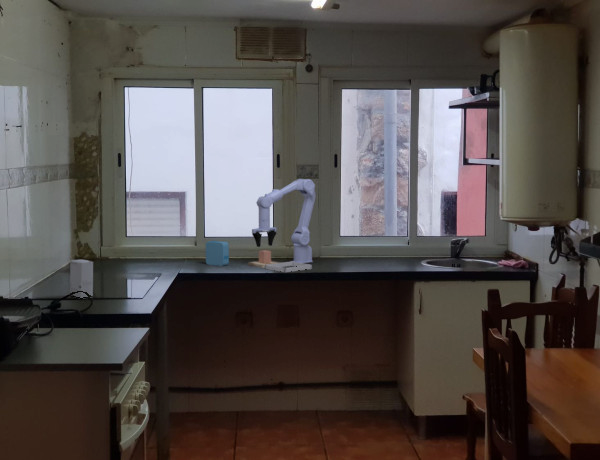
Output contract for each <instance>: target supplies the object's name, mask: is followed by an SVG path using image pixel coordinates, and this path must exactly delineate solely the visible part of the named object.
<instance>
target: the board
mask: <svg viewBox="0 0 600 460" xmlns="http://www.w3.org/2000/svg"><path fill="white" fill-rule="evenodd" d="M276 263H281V262H280V261H274V260H271V263H259V260H257V261H248V263H247V265H248V266H250V267H256V268H261V269H265V265H268V264H276Z"/></svg>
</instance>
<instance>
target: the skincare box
mask: <svg viewBox="0 0 600 460" xmlns="http://www.w3.org/2000/svg"><path fill="white" fill-rule="evenodd" d="M69 267H70V269H69V277H70V278H69V294H70V293H72V292H77V291H83V292H87V293H88V294H89V295H91V296H93V297H94V261H91V260H87V259H72V260H70V262H69ZM83 292H78V293H75V294H73V295H74V296H76V297H80V298H83V297H88V296H87V295H86V294H85V293H83ZM76 297H75V298H76ZM80 298H79V299H80ZM83 299H84V298H83Z"/></svg>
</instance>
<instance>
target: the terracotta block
mask: <svg viewBox="0 0 600 460" xmlns="http://www.w3.org/2000/svg"><path fill="white" fill-rule="evenodd" d="M258 261H259V263H271V261H272V251H271V250H266V249H264V250H258Z"/></svg>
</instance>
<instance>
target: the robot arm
mask: <svg viewBox="0 0 600 460" xmlns="http://www.w3.org/2000/svg"><path fill="white" fill-rule="evenodd" d="M315 189H316V184H315V183H314V182H313V180H312V179H309V178H307V179H304V178H298V179H296V180H294V181H292V182H291V183H290V184H287V185H286V186H284V187H282V188H280V189H275V188H274V189H272V190H271V191H270V192H267V193H265V194H264V196H261V195H260V197H259V196H258V198H257V201H256V202H255V203H256V205H257V207H258V227H257V228H252V229H251V235H252V236H253V239H254V241H255V245H256V247H257V248H260V247H261V244H262V243H261V242H262V241H261V240H262V236H263V235H262V234H263V233H266V235H267V244H268V246H269V247H272V246H273V243H274V240H275V237H276V235H277V227H271V218H270V216H271V214H270V213H271V212H270V211H271V210H270V209H271V207H272V205H273V204H276V203H278V202H279V201H281V200H282V199H283V196H285V195H287V194H289V193H291V192H293V191H297V190H298V192H299V193H300V194H301V195H302V196H303V198H304V200H303V204H302V207H301V208H302V209H301V212H300V217H299V220H298V226H297V227H296V228H295V229H294V232H293V233H292V235H291V238H290V239H291V242H292V243H293V260H290V261H289V262H298V263H304V264H309V263H314V261H313V250H312V247H311V246H310V245H309V243H310V241H311V238H310V233H311V232H310V230H309V226H310V222H311V218H312V214H313V210H314V205H315V201H316V190H315Z"/></svg>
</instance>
